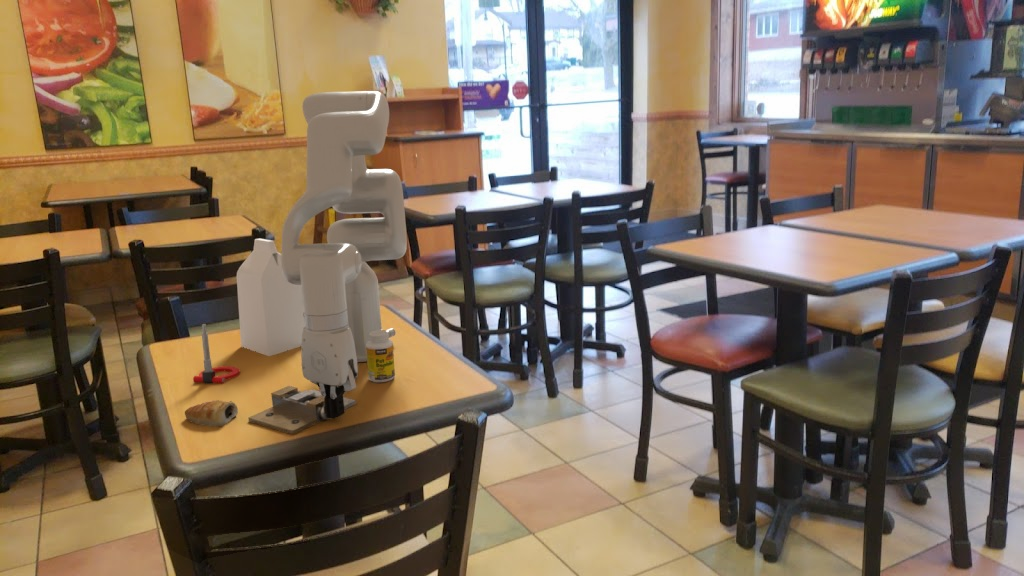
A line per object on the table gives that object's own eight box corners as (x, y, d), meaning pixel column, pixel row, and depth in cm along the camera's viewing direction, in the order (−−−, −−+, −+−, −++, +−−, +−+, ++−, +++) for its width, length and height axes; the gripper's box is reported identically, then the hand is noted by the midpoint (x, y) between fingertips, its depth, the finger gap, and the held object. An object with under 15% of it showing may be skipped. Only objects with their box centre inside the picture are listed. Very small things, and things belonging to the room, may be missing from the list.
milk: (241, 346, 191) (228, 241, 185) (282, 334, 200) (270, 233, 193) (269, 356, 184) (256, 246, 177) (310, 343, 192) (299, 238, 186)
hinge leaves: (312, 393, 160) (311, 376, 159) (356, 404, 154) (354, 386, 153) (248, 421, 147) (246, 403, 146) (293, 434, 141) (290, 416, 140)
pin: (287, 403, 155) (285, 389, 154) (334, 416, 148) (333, 401, 147) (275, 408, 153) (273, 394, 152) (323, 422, 146) (321, 406, 145)
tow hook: (211, 370, 177) (189, 383, 168) (206, 314, 174) (183, 325, 165) (247, 371, 176) (226, 385, 167) (241, 315, 173) (220, 325, 164)
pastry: (177, 425, 147) (174, 406, 146) (198, 411, 153) (196, 393, 153) (223, 428, 145) (220, 409, 144) (242, 414, 152) (240, 395, 151)
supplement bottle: (375, 385, 163) (371, 338, 161) (364, 378, 168) (360, 332, 165) (399, 379, 166) (396, 333, 164) (388, 372, 171) (384, 327, 168)
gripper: (281, 320, 142) (291, 415, 146) (342, 331, 134) (351, 431, 139) (312, 310, 148) (321, 402, 153) (372, 320, 140) (379, 416, 145)
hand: (335, 415), depth 146 cm, fingers closed
